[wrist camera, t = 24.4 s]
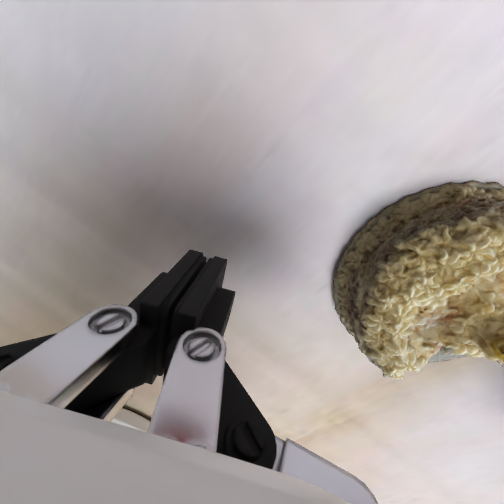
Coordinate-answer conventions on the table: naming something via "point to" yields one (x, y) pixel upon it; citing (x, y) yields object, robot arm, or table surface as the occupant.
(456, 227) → the cake
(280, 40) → the table surface
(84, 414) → the robot arm
